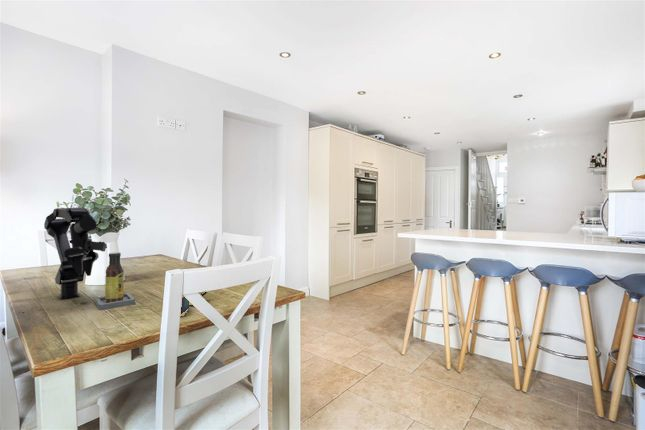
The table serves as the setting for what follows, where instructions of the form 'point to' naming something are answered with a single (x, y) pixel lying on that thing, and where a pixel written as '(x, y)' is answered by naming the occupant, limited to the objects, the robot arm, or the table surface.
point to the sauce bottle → (114, 279)
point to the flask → (184, 305)
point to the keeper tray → (102, 303)
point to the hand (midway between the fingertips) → (84, 275)
